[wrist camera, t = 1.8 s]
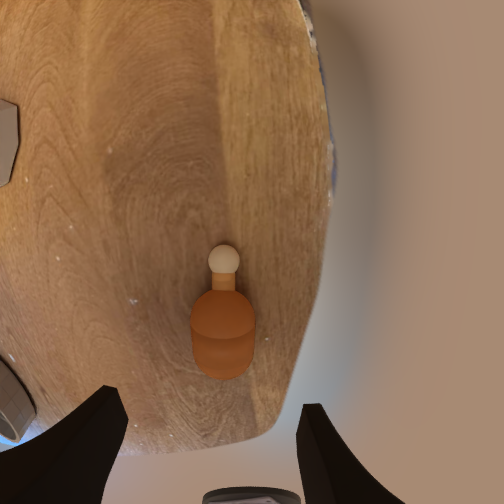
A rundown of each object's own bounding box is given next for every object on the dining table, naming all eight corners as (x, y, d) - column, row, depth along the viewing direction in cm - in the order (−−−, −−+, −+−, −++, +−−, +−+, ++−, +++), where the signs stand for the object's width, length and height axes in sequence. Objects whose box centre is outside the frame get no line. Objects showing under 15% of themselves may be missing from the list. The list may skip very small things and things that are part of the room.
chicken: (252, 356, 17) (252, 393, 14) (199, 353, 17) (190, 389, 14) (257, 242, 15) (259, 264, 12) (193, 240, 15) (178, 261, 12)
